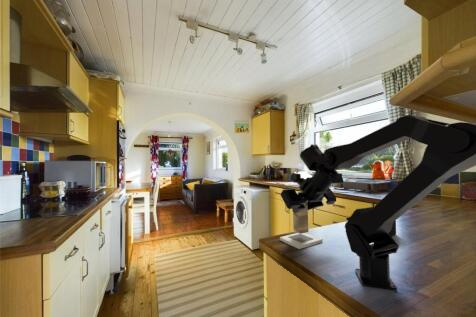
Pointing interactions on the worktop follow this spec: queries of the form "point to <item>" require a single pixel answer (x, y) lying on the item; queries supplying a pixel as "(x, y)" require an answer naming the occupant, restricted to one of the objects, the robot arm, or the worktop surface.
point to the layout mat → (301, 240)
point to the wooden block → (301, 220)
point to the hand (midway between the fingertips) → (297, 211)
